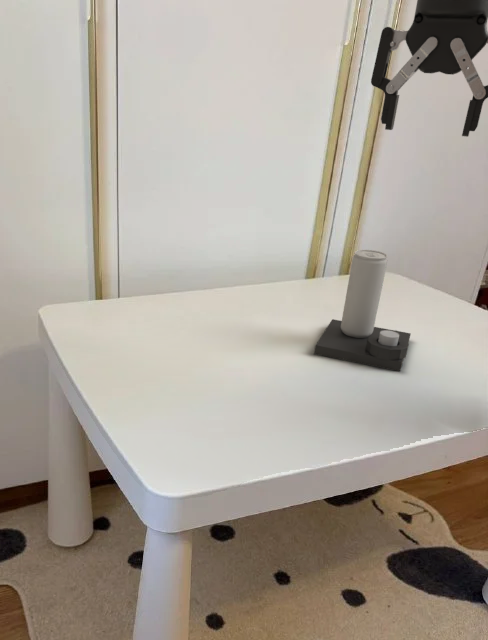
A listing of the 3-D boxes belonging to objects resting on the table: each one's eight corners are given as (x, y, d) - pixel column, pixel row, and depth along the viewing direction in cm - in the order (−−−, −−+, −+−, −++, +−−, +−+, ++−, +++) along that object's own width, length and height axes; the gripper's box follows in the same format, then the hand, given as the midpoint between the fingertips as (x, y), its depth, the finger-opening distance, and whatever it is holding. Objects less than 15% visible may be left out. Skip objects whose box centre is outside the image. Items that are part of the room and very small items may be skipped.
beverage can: (367, 327, 97) (382, 250, 92) (376, 339, 93) (392, 259, 87) (336, 326, 97) (349, 248, 91) (344, 338, 93) (358, 257, 87)
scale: (410, 342, 96) (414, 323, 95) (401, 372, 86) (406, 352, 85) (330, 327, 100) (333, 309, 99) (313, 354, 90) (316, 335, 89)
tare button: (398, 342, 89) (400, 332, 88) (395, 349, 87) (398, 338, 86) (379, 339, 90) (381, 328, 89) (376, 345, 88) (378, 335, 87)
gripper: (387, -41, 65) (359, 129, 73) (538, -41, 61) (492, 140, 68) (395, -30, 71) (369, 126, 79) (533, -30, 67) (492, 135, 74)
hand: (426, 132), depth 74 cm, fingers open, 8 cm apart
